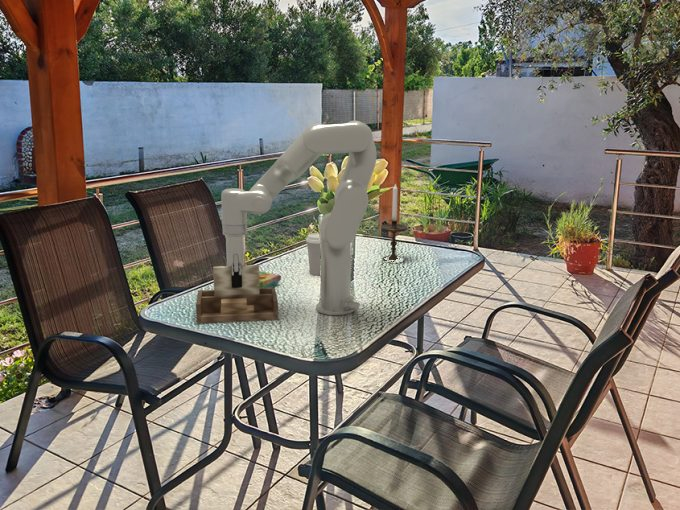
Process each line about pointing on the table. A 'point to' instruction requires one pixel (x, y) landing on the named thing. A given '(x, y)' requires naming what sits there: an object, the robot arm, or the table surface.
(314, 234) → the coffee cup
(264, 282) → the puzzle game
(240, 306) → the tan wooden block
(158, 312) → the table surface
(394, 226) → the candlestick
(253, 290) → the birch sheet
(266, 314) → the walnut rack
